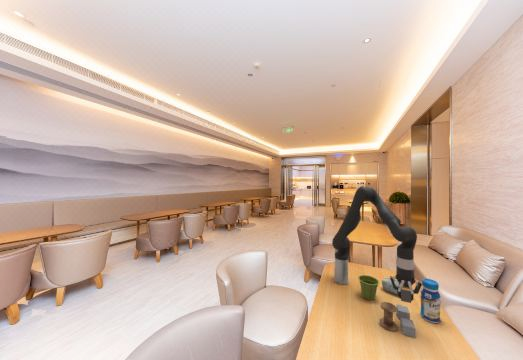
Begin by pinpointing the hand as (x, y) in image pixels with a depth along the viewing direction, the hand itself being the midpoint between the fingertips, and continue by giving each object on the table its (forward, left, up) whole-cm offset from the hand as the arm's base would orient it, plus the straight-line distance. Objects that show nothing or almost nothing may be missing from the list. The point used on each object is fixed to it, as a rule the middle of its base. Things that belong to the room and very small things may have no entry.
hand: (405, 298), depth 102 cm
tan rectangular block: (0, 0, 0) cm, 0 cm away
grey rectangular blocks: (0, 0, -13) cm, 13 cm away
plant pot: (-16, +18, -13) cm, 28 cm away
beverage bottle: (+13, +11, -13) cm, 22 cm away
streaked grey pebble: (-1, +31, -13) cm, 34 cm away
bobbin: (-8, -5, -13) cm, 16 cm away
